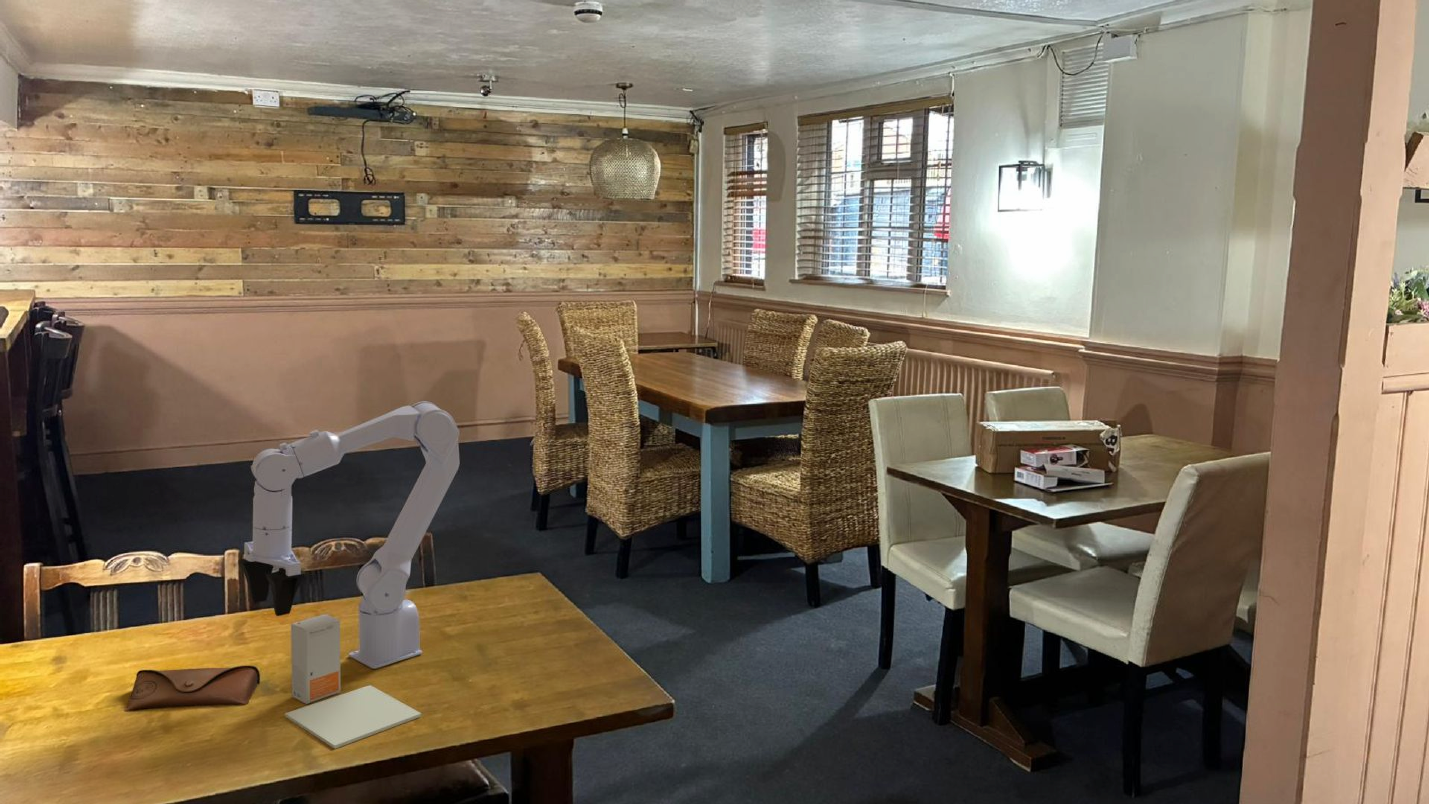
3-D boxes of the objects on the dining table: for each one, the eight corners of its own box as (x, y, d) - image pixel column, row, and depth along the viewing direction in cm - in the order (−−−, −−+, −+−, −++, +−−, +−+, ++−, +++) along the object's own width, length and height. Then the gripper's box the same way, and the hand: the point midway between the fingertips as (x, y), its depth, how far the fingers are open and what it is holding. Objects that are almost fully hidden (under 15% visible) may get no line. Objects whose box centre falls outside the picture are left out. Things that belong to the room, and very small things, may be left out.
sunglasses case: (119, 712, 154) (124, 666, 157) (133, 717, 161) (137, 672, 163) (250, 704, 158) (253, 659, 161) (258, 709, 165) (261, 666, 167)
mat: (370, 688, 166) (370, 685, 166) (421, 716, 157) (421, 713, 157) (285, 716, 155) (285, 713, 155) (334, 748, 146) (334, 745, 146)
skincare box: (307, 705, 159) (305, 630, 157) (291, 697, 162) (289, 623, 160) (342, 692, 164) (341, 619, 162) (326, 684, 166) (325, 612, 164)
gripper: (226, 518, 168) (225, 600, 169) (270, 539, 158) (268, 625, 160) (268, 513, 173) (267, 592, 175) (314, 532, 164) (312, 616, 166)
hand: (270, 607), depth 168 cm, fingers open, 7 cm apart
